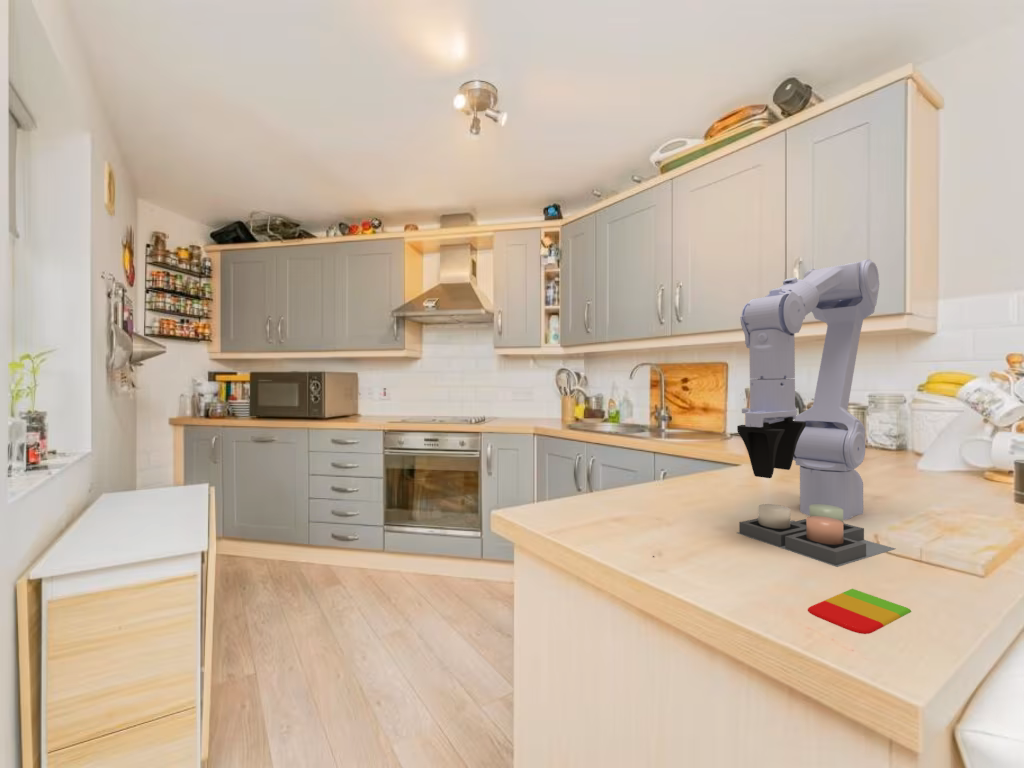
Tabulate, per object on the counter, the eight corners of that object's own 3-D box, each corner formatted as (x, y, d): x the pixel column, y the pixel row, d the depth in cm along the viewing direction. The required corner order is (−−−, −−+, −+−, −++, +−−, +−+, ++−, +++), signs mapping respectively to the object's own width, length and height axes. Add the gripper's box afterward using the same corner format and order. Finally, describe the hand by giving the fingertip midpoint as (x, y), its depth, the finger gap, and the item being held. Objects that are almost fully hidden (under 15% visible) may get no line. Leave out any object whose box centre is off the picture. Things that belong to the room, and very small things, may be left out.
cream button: (770, 518, 70) (770, 502, 70) (796, 526, 66) (796, 509, 66) (752, 522, 68) (752, 506, 68) (778, 530, 64) (778, 513, 64)
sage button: (820, 519, 69) (820, 502, 69) (849, 526, 66) (849, 509, 66) (803, 522, 68) (803, 506, 68) (832, 530, 64) (832, 513, 64)
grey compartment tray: (792, 527, 74) (792, 510, 74) (895, 557, 62) (895, 536, 62) (736, 540, 69) (736, 521, 69) (837, 576, 56) (837, 553, 56)
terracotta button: (818, 532, 63) (818, 514, 63) (850, 541, 60) (850, 522, 60) (799, 536, 62) (799, 518, 62) (831, 546, 58) (831, 527, 58)
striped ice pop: (800, 626, 46) (800, 607, 46) (877, 592, 53) (877, 575, 53) (865, 656, 41) (865, 634, 41) (939, 613, 48) (939, 595, 48)
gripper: (761, 378, 75) (762, 462, 76) (722, 380, 66) (723, 476, 66) (811, 378, 70) (812, 468, 70) (777, 379, 60) (778, 484, 61)
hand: (772, 472), depth 68 cm, fingers open, 7 cm apart
